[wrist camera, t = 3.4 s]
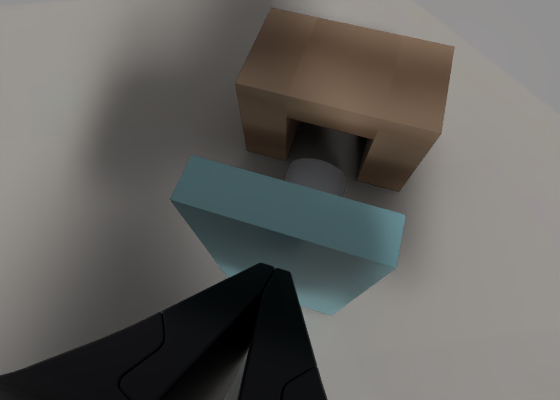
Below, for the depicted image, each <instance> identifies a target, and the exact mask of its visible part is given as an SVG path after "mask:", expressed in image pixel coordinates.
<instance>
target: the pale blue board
mask: <svg viewBox="0 0 560 400" xmlns="http://www.w3.org/2000/svg"><path fill="white" fill-rule="evenodd" d="M346 182H347V179H346V176H345V175H344V173H343V172H342V171H341V170H340V169H338V168H337V167H335V166H334V165H332V164H330V163H327V162H325V161H322V160H318V159H311V158H302V159H297V160H295V161H293V162H292V163H291V164H290V166H289V169H288V172H287V175H286V177H285V180H284V181H283V180H280V179H276V178H273V177H269V176H266V175H262V174H258V173H255V172H251V171H248V170H244V169H241V168H237V167H233V166H230V165H226V164H223V163H219V162H216V161H212V160H209V159H205V158H201V157H198V156H194V155H192V156H191V158H190V160H189V162H188V164H187V166H186V168H185V170H184V172H183V174H182V176H181V178H180V180H179V182H178V184H177V186H176V188H175V190H174V192H173V194H172V196H171V198H170V200H171V202H172V203H173V204H174V206H175V207H176V208H177V210H178V211H179V212H180V214H181V215H182V217H183V218H184V219H185V221H186V222H187V223H188V225H189V226H190V227H191V229H192V230H193V231H194V233H195V234H196V235H197V237H198V238H199V239H200V241H201V242H202V243H203V245H204V246H205V248H206V249H207V250H208V252H209V253H210V254H211V256H212V257H213V258H214V260H215V261H216V262H217V264H218V265H219V266H220V268H221V269H222V270H223V272H224V273H225V274H226V276H227V277H228V278H229V277H231V276H233V275H235V274H237V273H239V272H241V271H243V270H245V269H247V268H249V267H252V266H254V265H256V264H258V263H264V264H268V265H271V266H273V267H274V268H280V269H283V270H287V271H289V272H291V275H292V278H293V282H294V285H295V289H296V292H297V296H298V299H299V303H300V306H303V307H306V308H309V309H312V310H315V311H318V312H321V313H324V314H327V315H330V316H332V315H333V314H334V313H336V312H337V311H339V310H340V309H341V308H343V307H344V306H345V305H347V304H348V303H349V302H351V301H352V300H353V299H355V298H356V297H358V296H359V295H360V294H362V293H363V292H364V291H366V290H367V289H368V288H370V287H371V286H372V285H374V284H375V283H377V282H378V281H379V280H381V279H382V278H383V277H385V276H386V275H387V274H389V273H390V272H391V271H393V270H394V269H395V268H396V266H397V261H398V256H399V250H400V245H401V239H402V234H403V228H404V223H405V217H406V215H404V214H401V213H397V212H394V211H390V210H386V209H383V208H379V207H376V206H372V205H369V204H365V203H362V202H358V201H354V200H351V199H347V198H344V197H343V193H344V190H345V186H346Z"/></svg>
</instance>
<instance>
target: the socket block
mask: <svg viewBox="0 0 560 400" xmlns="http://www.w3.org/2000/svg"><path fill="white" fill-rule="evenodd" d="M453 53H454V46H449V45H444V44H440V43H435V42H430V41H426V40H421V39H416V38H411V37H407V36H402V35H397V34H393V33H388V32H383V31H378V30H374V29H369V28H364V27H360V26H355V25H350V24H346V23H341V22H336V21H331V20H327V19H322V18H317V17H313V16H308V15H303V14H298V13H294V12H289V11H284V10H280V9H275V8H271V9H270V11H269V13H268V15H267V18H266V20H265V22H264V24H263V26H262V28H261V30H260V32H259V34H258V36H257V38H256V40H255V42H254V44H253V47H252V49H251V51H250V53H249V55H248V57H247V59H246V61H245V63H244V65H243V67H242V69H241V71H240V73H239V76H238V78H237V80H236V82H235V86H236V91H237V97H238V103H239V108H240V114H241V120H242V125H243V131H244V136H245V142H246V148H247V150H248V151H252V152H256V153H259V154H263V155H267V156H270V157H274V158H278V159H281V160H285V161H286V159H287V156H288V153H289V150H290V148H291V145H292V142H293V139H294V136H295V134H296V131H297V128H298V125H299V123H300V121H302V122H306V123H310V124H314V125H318V126H322V127H326V128H330V129H334V130H338V131H342V132H345V133H349V134H353V135H357V136H361V137H365V138H367V142H366V146H365V150H364V154H363V157H362V161H361V165H360V169H359V173H358V177H357V180H358V181H362V182H366V183H369V184H373V185H377V186H380V187H384V188H388V189H391V190H395V191H400V190H401V188H402V187H403V186H404V184H405V183H406V181H407V180H408V179H409V177H410V176H411V175H412V173H413V172H414V170H415V169H416V168H417V166H418V165H419V164H420V162H421V161H422V159H423V158H424V157H425V155H426V154H427V153H428V151H429V150H430V148H431V147H432V146H433V144H434V143H435V142H436V140H437V139H438V137H439V136H440V135H441V132H442V125H443V119H444V112H445V106H446V99H447V93H448V86H449V80H450V73H451V67H452V60H453Z"/></svg>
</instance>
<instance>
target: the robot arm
mask: <svg viewBox="0 0 560 400" xmlns="http://www.w3.org/2000/svg"><path fill="white" fill-rule="evenodd" d="M248 350H249V351H248ZM247 352H248V355H247V359H246V363H245V368H244V372H243V377H242V381H241V385H240V390H239V394H238V398H237V400H327V397H326V393H325V390H324V387H323V384H322V381H321V377H320V374H319V370H318V368H317V363H316V360H315V356H314V353H313V349H312V346H311V342H310V339H309V335H308V331H307V328H306V324H305V321H304V317H303V314H302V310H301V307H300V303H299V299H298V296H297V292H296V289H295V285H294V282H293V278H292V275H291V272H289V271H287V270H283V269H280V268H274V267H273V266H271V265H268V264H264V263H258V264H256V265H254V266H252V267H249V268H247V269H245V270H243V271H241V272H239V273H237V274H235V275H233V276H231V277H229V278H227V279H225V280H223V281H221V282H219V283H217V284H215V285H213V286H211V287H209V288H207V289H205V290H203V291H201V292H199V293H197V294H195V295H193V296H191V297H189V298H187V299H185V300H183V301H181V302H179V303H177V304H175V305H173V306H171V307H169V308H167V309H165V310H163V311H162V313H161V312H159V313H157V314H155V315H153V316H151V317H149V318H147V319H145V320H142V321H140V322H138V323H136V324H134V325H132V326H129V327H127V328H125V329H123V330H121V331H118V332H116V333H113V334H111V335H108V336H106V337H103V338H101V339H99V340H96V341H94V342H91V343H88V344H86V345H83V346H81V347H78V348H75V349H73V350H70V351H68V352H65V353H62V354H60V355H57V356H55V357H52V358H49V359H47V360H44V361H42V362H39V363H37V364H34V365H31V366H29V367H26V368H23V369H20V370H17V371H15V372H11V373H7V374H4V375H0V400H223V399H224V397H225V395H226V393H227V391H228V389H229V387H230V385H231V383H232V382H233V380H234V378H235V376H236V374H237V372H238V370H239V368H240V366H241V364H242V362H243V360H244V358H245V356H246V354H247Z"/></svg>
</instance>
